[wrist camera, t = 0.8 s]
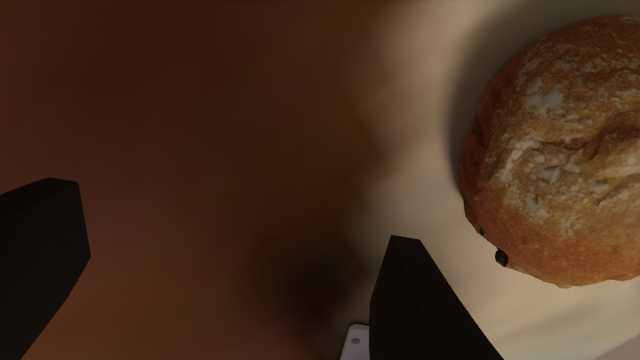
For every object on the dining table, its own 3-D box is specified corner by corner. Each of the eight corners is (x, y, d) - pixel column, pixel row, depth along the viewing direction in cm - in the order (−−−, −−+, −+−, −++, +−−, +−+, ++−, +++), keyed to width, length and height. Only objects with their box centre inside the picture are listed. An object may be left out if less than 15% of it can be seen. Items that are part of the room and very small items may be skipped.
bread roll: (671, 99, 20) (936, 85, 12) (572, 291, 21) (761, 397, 13) (496, 3, 18) (672, -88, 10) (397, 216, 19) (488, 283, 11)
